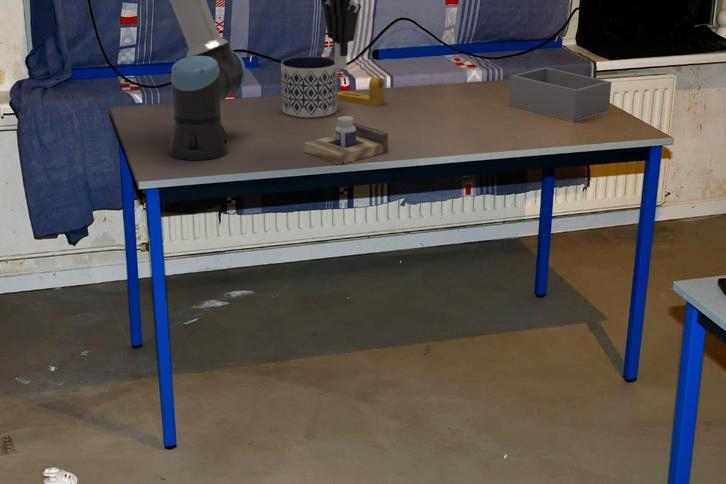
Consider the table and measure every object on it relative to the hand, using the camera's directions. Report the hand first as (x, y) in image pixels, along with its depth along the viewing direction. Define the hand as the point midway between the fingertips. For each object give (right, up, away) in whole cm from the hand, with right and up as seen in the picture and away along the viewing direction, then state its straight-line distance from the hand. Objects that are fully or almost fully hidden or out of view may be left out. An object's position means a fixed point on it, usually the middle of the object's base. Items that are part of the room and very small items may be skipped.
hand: (340, 68), depth 276 cm
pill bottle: (+1, -21, +5) cm, 22 cm away
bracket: (+4, -2, +52) cm, 52 cm away
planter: (-10, -6, +42) cm, 43 cm away
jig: (+1, -21, +5) cm, 21 cm away
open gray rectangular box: (+63, -5, +44) cm, 77 cm away
